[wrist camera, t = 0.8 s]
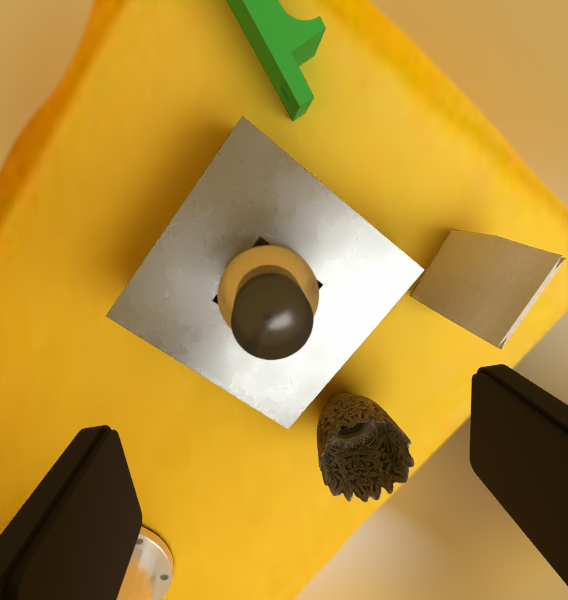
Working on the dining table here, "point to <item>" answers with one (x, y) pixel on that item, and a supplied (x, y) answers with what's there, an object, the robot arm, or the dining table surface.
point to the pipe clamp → (281, 47)
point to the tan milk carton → (485, 283)
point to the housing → (251, 232)
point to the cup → (361, 448)
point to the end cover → (269, 300)
